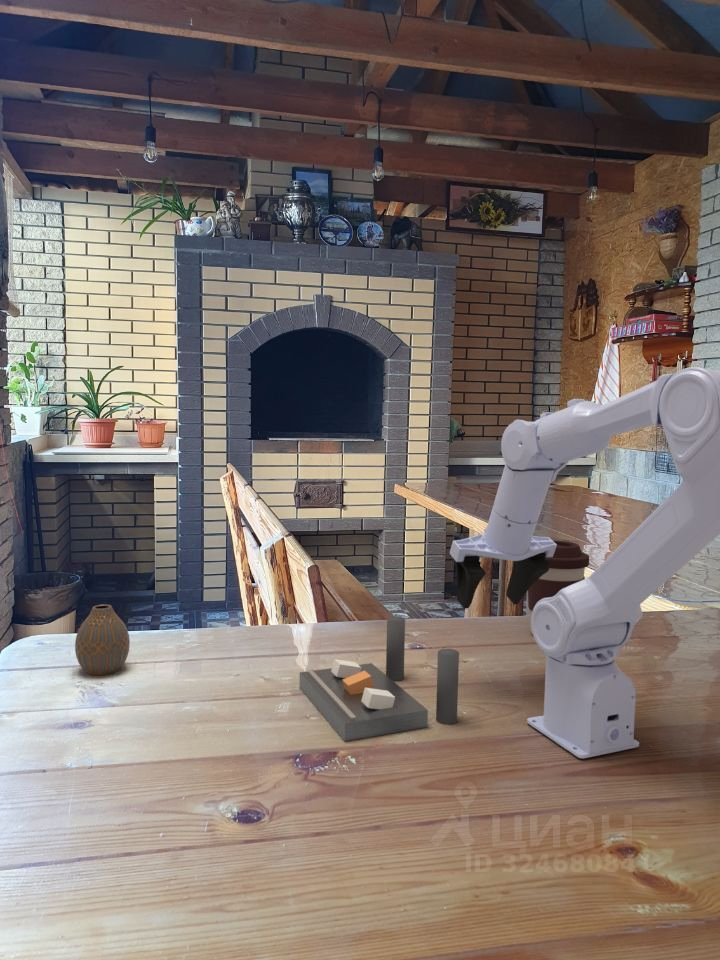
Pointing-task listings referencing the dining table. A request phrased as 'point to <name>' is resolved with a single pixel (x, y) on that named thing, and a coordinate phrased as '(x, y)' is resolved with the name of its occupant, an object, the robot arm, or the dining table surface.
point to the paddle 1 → (345, 668)
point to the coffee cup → (559, 573)
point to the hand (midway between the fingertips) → (487, 601)
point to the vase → (102, 641)
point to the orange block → (358, 683)
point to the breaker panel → (361, 705)
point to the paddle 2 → (377, 698)
